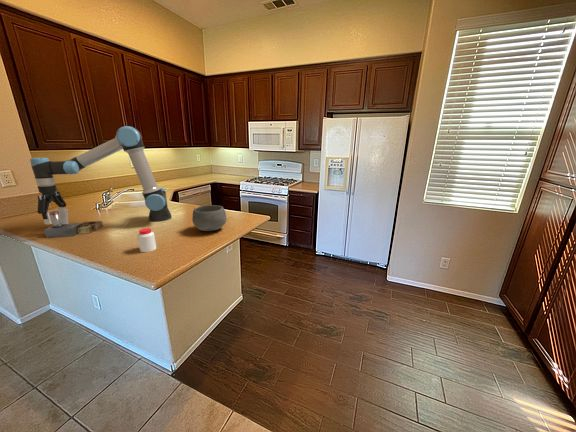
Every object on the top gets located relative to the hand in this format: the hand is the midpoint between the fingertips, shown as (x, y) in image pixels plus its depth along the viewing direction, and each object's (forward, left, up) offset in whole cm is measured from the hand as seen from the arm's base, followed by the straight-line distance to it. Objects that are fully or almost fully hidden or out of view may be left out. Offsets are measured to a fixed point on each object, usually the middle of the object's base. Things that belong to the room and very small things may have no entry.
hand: (56, 220), depth 142 cm
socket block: (-3, 0, -9) cm, 9 cm away
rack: (-13, -7, -9) cm, 17 cm away
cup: (+8, -16, -9) cm, 20 cm away
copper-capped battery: (0, 0, -9) cm, 9 cm away
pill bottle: (-59, +33, -9) cm, 68 cm away
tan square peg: (-11, 0, -9) cm, 14 cm away
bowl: (-89, +8, -9) cm, 90 cm away
